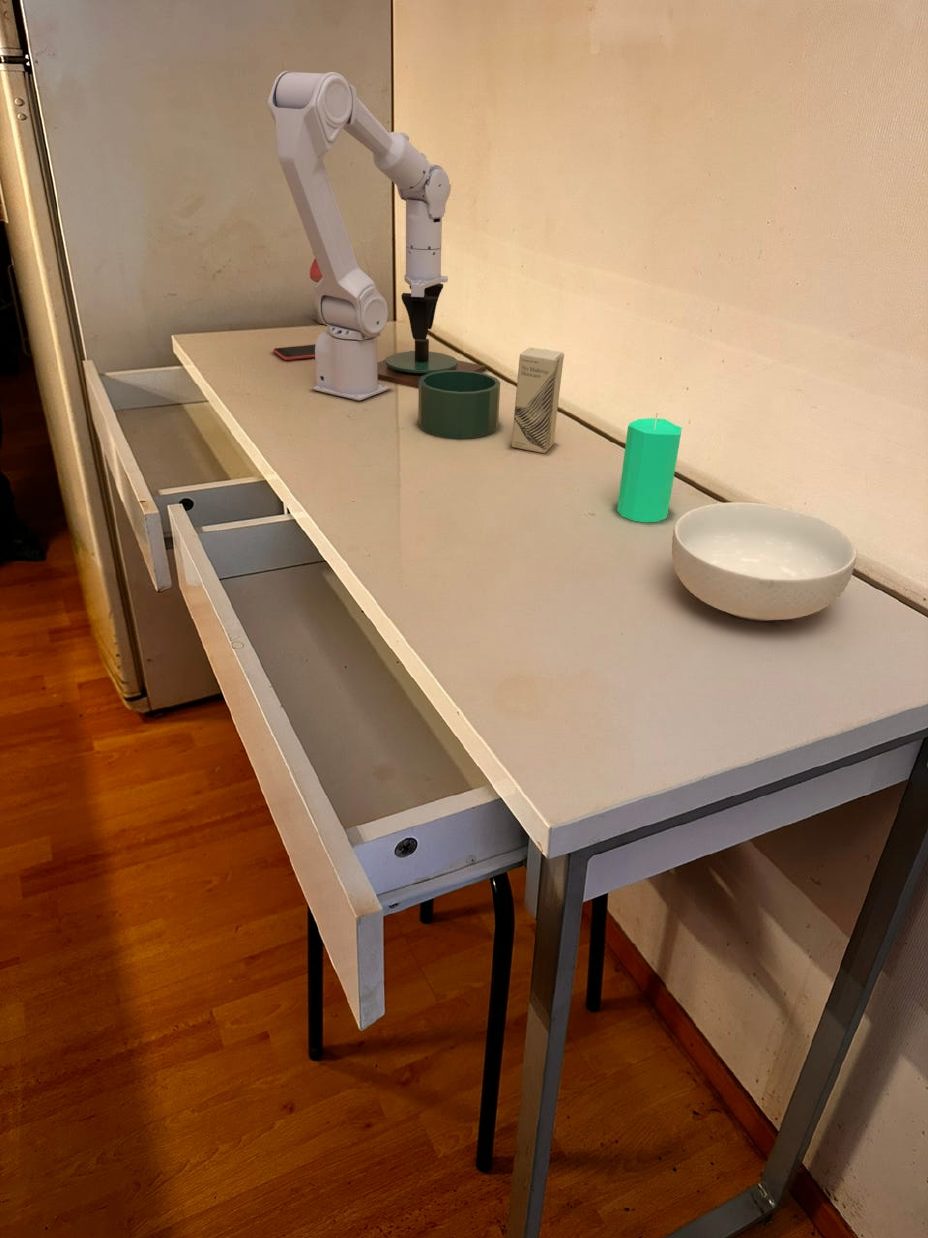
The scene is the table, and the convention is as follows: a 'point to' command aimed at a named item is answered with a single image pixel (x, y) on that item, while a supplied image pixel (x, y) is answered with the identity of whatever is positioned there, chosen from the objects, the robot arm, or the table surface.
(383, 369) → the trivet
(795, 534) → the cereal bowl
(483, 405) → the pot
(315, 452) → the table surface
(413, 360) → the lid
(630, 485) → the candle
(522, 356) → the box
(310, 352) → the smartphone
